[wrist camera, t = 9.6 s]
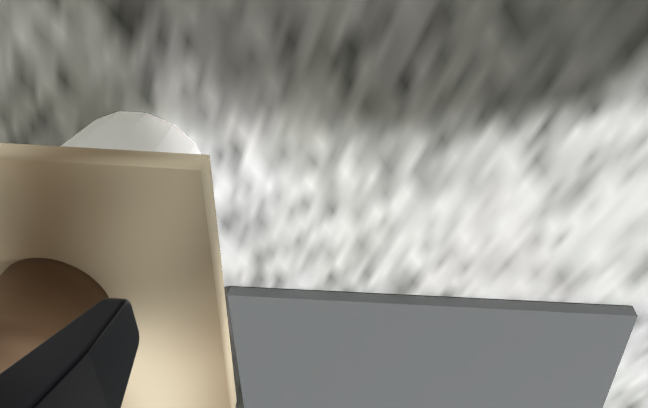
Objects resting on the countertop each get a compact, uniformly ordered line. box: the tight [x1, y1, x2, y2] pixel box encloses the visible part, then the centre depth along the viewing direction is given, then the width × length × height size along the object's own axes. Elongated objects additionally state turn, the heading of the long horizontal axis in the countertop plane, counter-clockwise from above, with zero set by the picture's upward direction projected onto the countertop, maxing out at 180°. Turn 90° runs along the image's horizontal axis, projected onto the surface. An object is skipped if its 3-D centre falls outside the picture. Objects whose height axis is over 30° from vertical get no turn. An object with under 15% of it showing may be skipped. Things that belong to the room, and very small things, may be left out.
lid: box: [0, 143, 237, 408], centre depth 16 cm, size 10×10×6 cm
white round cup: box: [61, 111, 201, 154], centre depth 21 cm, size 7×7×7 cm
